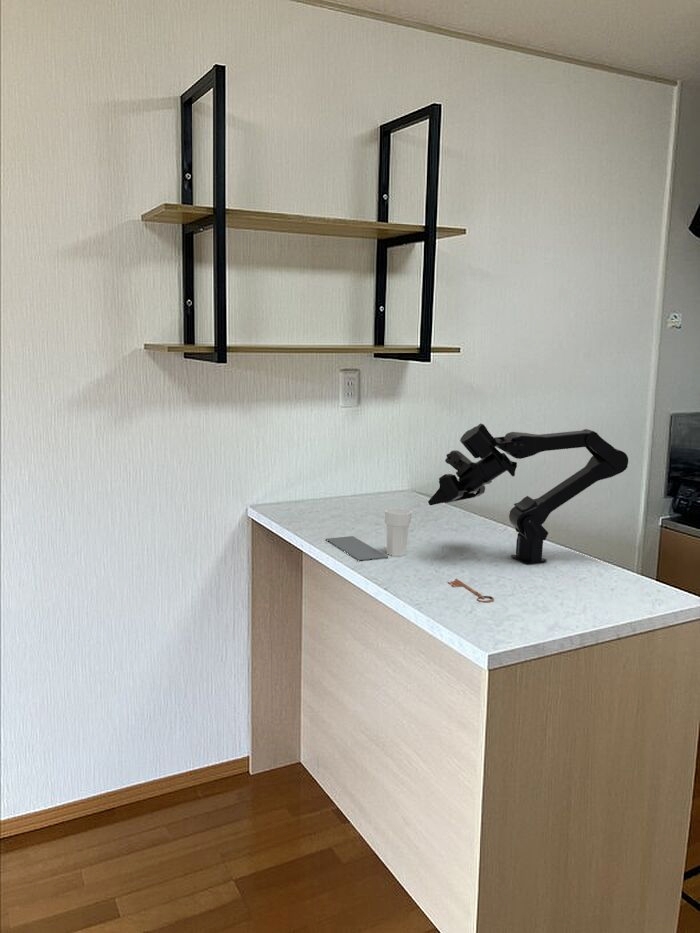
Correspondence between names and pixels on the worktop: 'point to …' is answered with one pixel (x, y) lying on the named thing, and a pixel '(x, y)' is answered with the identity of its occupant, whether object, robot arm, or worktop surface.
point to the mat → (356, 548)
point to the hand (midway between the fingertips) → (436, 502)
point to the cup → (397, 530)
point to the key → (461, 584)
